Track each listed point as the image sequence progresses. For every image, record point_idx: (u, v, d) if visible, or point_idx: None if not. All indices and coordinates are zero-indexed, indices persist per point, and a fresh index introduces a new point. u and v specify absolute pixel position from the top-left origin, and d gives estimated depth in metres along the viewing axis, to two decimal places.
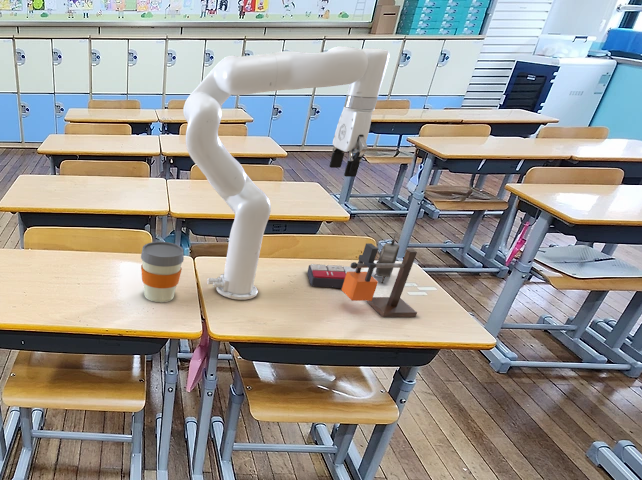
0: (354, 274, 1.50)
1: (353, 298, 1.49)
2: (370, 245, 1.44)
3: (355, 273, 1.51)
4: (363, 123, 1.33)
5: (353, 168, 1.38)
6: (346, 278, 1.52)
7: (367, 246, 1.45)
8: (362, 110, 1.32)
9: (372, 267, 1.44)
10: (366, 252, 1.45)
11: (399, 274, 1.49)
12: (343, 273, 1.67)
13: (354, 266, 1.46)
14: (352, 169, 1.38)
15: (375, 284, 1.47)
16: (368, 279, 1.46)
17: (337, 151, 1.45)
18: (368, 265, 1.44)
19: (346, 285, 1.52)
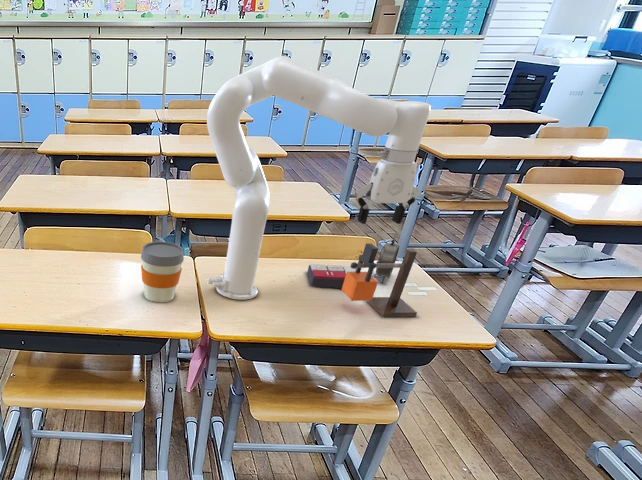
0: (354, 274, 1.50)
1: (353, 298, 1.49)
2: (370, 245, 1.44)
3: (355, 273, 1.51)
4: None
5: None
6: (346, 278, 1.52)
7: (367, 246, 1.45)
8: None
9: (372, 267, 1.44)
10: (366, 252, 1.45)
11: (399, 274, 1.49)
12: (343, 273, 1.67)
13: (354, 266, 1.46)
14: None
15: (375, 284, 1.47)
16: (368, 279, 1.46)
17: None
18: (368, 265, 1.44)
19: (346, 285, 1.52)
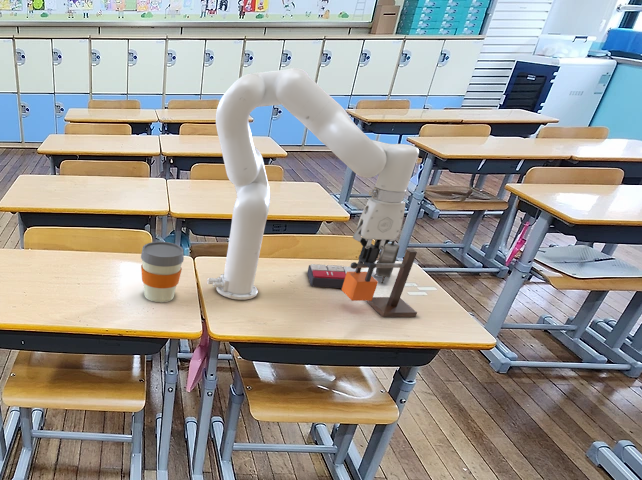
0: (354, 274, 1.50)
1: (353, 298, 1.49)
2: None
3: (355, 273, 1.51)
4: None
5: None
6: (346, 278, 1.52)
7: None
8: None
9: (372, 267, 1.44)
10: None
11: (399, 274, 1.49)
12: (343, 273, 1.67)
13: (354, 266, 1.46)
14: None
15: (375, 284, 1.47)
16: (368, 279, 1.46)
17: None
18: (368, 265, 1.44)
19: (346, 285, 1.52)
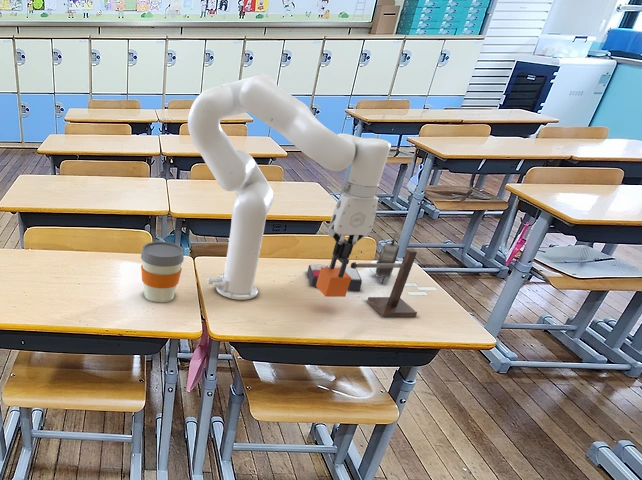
0: (328, 270, 1.49)
1: (326, 294, 1.48)
2: None
3: (329, 269, 1.49)
4: None
5: None
6: (320, 274, 1.51)
7: None
8: None
9: (345, 263, 1.43)
10: None
11: (399, 274, 1.49)
12: None
13: (354, 266, 1.46)
14: None
15: (348, 280, 1.46)
16: (341, 275, 1.45)
17: None
18: (341, 261, 1.43)
19: (320, 281, 1.51)
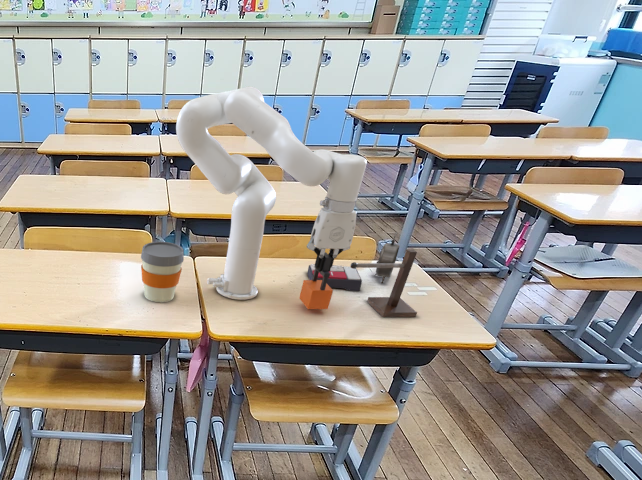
0: (310, 283, 1.51)
1: (309, 307, 1.49)
2: (324, 254, 1.45)
3: (311, 282, 1.51)
4: None
5: None
6: (303, 286, 1.53)
7: None
8: None
9: (326, 276, 1.44)
10: None
11: (399, 274, 1.49)
12: (343, 273, 1.67)
13: (354, 266, 1.46)
14: None
15: (330, 293, 1.47)
16: (323, 288, 1.46)
17: (323, 253, 1.44)
18: (322, 274, 1.45)
19: (303, 293, 1.53)
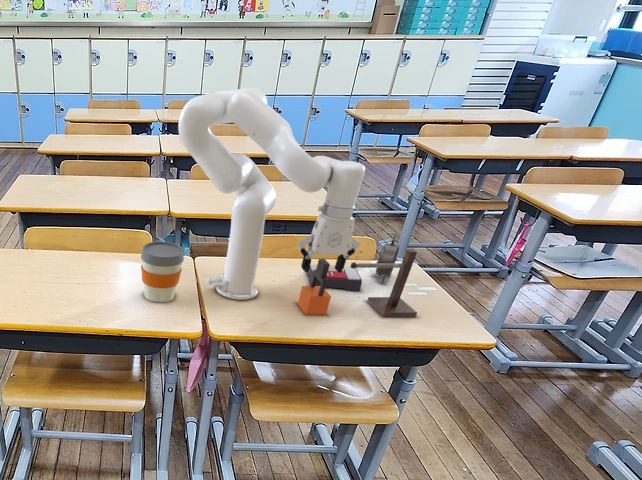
0: (308, 288, 1.52)
1: (307, 312, 1.50)
2: (322, 260, 1.46)
3: (310, 287, 1.52)
4: None
5: None
6: (301, 292, 1.54)
7: (320, 261, 1.46)
8: None
9: (324, 282, 1.45)
10: (319, 267, 1.47)
11: (399, 274, 1.49)
12: (343, 273, 1.67)
13: (354, 266, 1.46)
14: None
15: (328, 299, 1.48)
16: (321, 294, 1.47)
17: None
18: (321, 280, 1.46)
19: (301, 299, 1.54)
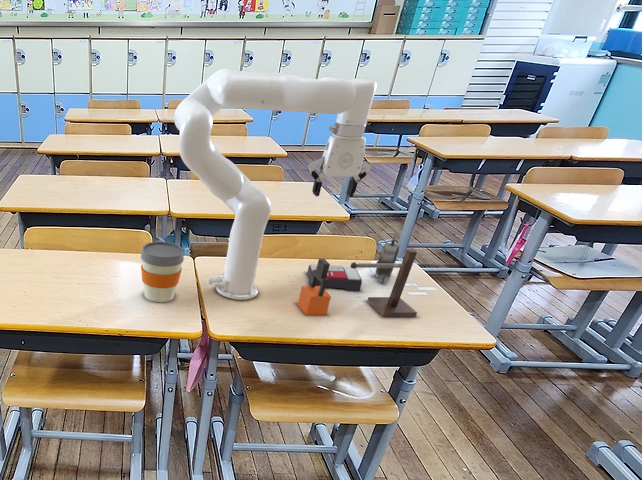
0: (308, 288, 1.52)
1: (307, 312, 1.50)
2: (323, 260, 1.46)
3: (310, 287, 1.52)
4: None
5: None
6: (301, 292, 1.54)
7: (320, 261, 1.46)
8: None
9: (324, 282, 1.45)
10: (319, 267, 1.47)
11: (399, 274, 1.49)
12: (343, 273, 1.67)
13: (354, 266, 1.46)
14: None
15: (328, 299, 1.48)
16: (321, 294, 1.47)
17: None
18: (321, 280, 1.46)
19: (301, 299, 1.54)
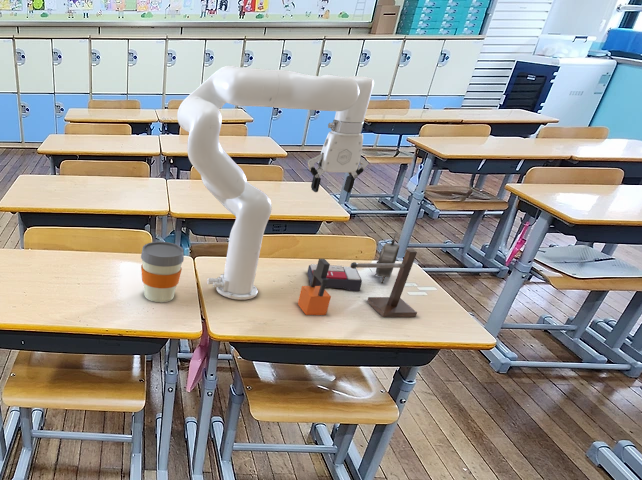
0: (308, 288, 1.52)
1: (307, 312, 1.50)
2: (323, 260, 1.46)
3: (310, 287, 1.52)
4: None
5: None
6: (301, 292, 1.54)
7: (320, 261, 1.46)
8: None
9: (324, 282, 1.45)
10: (319, 267, 1.47)
11: (399, 274, 1.49)
12: (343, 273, 1.67)
13: (354, 266, 1.46)
14: None
15: (328, 299, 1.48)
16: (321, 294, 1.47)
17: None
18: (321, 280, 1.46)
19: (301, 299, 1.54)
